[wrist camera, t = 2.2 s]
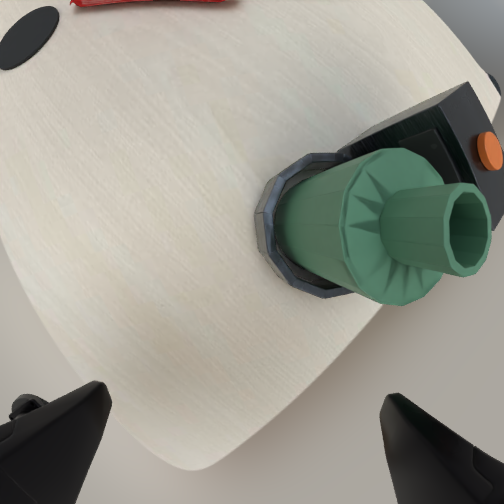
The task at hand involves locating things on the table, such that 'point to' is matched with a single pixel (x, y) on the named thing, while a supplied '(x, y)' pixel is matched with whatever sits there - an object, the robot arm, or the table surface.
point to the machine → (415, 140)
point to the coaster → (27, 36)
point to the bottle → (384, 226)
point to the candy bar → (93, 0)
